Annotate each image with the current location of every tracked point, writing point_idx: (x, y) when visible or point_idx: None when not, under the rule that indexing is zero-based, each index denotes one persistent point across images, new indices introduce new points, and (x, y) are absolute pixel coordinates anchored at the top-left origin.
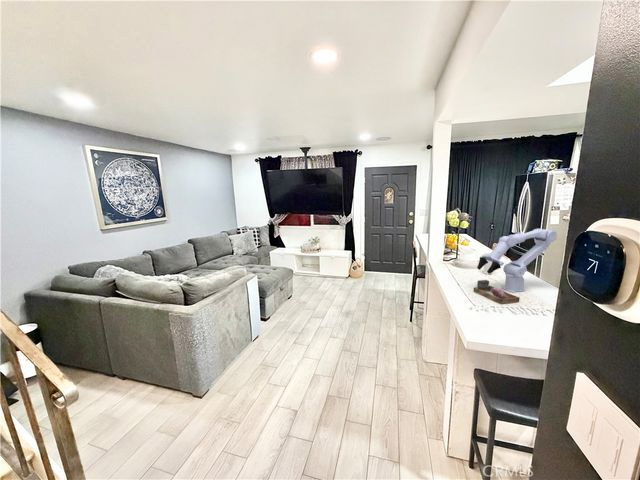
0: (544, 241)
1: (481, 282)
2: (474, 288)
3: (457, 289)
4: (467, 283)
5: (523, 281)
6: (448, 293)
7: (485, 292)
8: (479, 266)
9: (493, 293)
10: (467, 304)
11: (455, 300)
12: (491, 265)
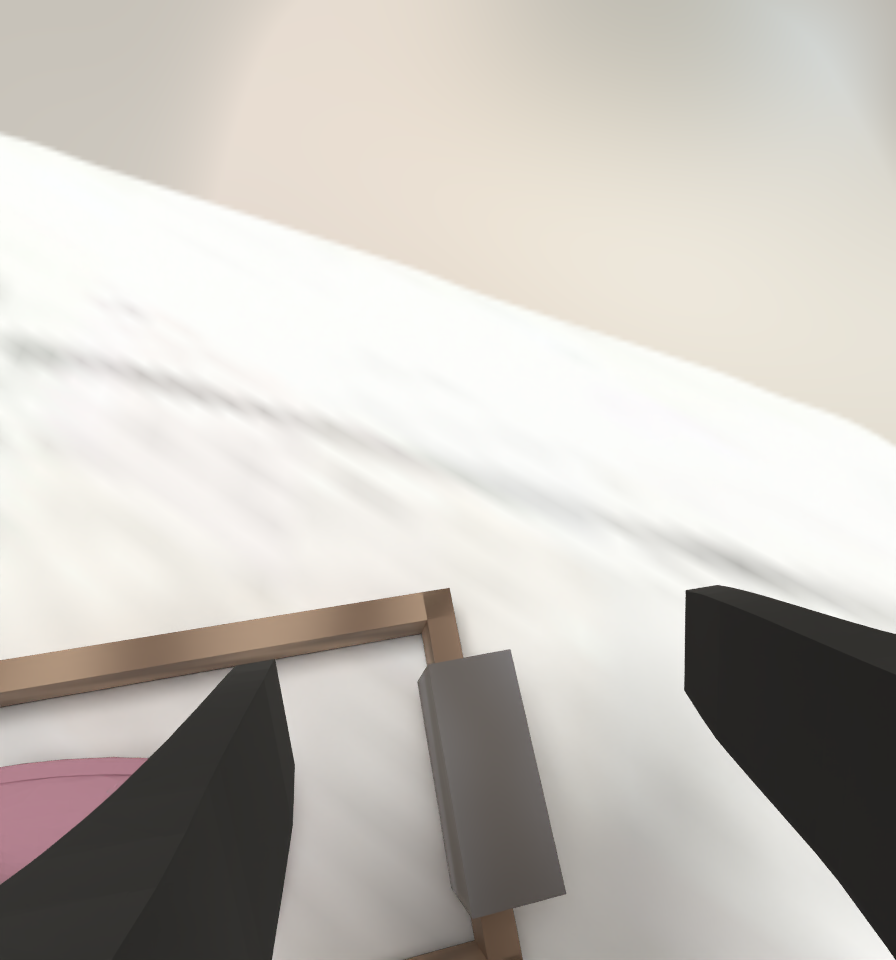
0: None
1: (430, 686)
2: (433, 593)
3: (537, 447)
4: None
5: None
6: (412, 289)
7: (209, 636)
8: (737, 650)
9: None
10: (71, 299)
11: (208, 252)
12: (142, 852)
